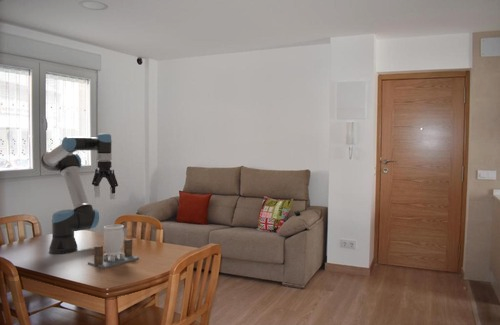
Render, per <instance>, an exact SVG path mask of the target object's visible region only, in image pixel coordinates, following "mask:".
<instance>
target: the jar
mask: <svg viewBox="0 0 500 325" xmlns="http://www.w3.org/2000/svg"><path fill="white" fill-rule="evenodd" d="M124 228H125V226H124V225H123V224H107V225H104V226H103V235H102V236H103V243H104V246H103V247H104V249H105V251H106V252H105V254H106V255H108V257H110V256H116V255H120V254H122V253H123V251H122V249H123V248H124V240H125V231H124Z"/></svg>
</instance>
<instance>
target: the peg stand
mask: <svg viewBox="0 0 500 325" xmlns="http://www.w3.org/2000/svg"><path fill="white" fill-rule="evenodd" d="M139 259H140V256H135V255H132V256H129V257H126V256H125V253H124V252H122V254H120V255H116V256H108V255H106V253H103V264H99V265H98V267H97V268H102V269H104V270H105V269H109V268H112V267H115V266H118V265H123V264H126V263H130V262H132V261H133V262H134V261H136V260H137V261H138V260H139ZM87 265H91V266H94V260H92V261H88V262H87ZM94 267H95V266H94Z"/></svg>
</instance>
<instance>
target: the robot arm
mask: <svg viewBox="0 0 500 325" xmlns="http://www.w3.org/2000/svg"><path fill="white" fill-rule="evenodd" d="M112 142H113V141H112V135H111V134H110V133H98V134H97V136H96V137H93V136H91V137H89V136H87V137H86V136H85V137H83V136H65V137H63V139H62V141H61V144H59V145H58V146H57V147H55V148H53V149H52V150H47V151H46V152H44V153H43V154H42V155H41V157H40V163H41V165H42V167H43V168H44V169H45V170H47V171H51V172H57V171H58V172H60V175H61V176H62V177H64V180H65V184H66V186H67V188H68V193H69V196H70V200H71V203H72V206H73V209H71V208H70V209H63V210H58V211H56V212H54V213H53V214H52V216H51V217H52V218H51V232H52V234H51V235H52V238H51V242H50V245H49V246H48V247H49V248H48V252H49V254H55V255H57V254H58V255H59V254H61V255H62V254H68V253H69V254H70V253H74V252H76V251H78V243H77V241H76V238H75V232H77V231H78V232H79V231H86V230H91V229H95V228H96V227H97V226H98V225H99V221H100V213H99V211H98V209H96V208H93V205H92V204H90V203H89V200H88V198H87V195H86V192H85V188H84V186H83V182H82V180H81V179H82V178H81V176H80V173H79V172H80V170H81V168H82V159H81V157H80V155H79V154H78V153H77V152H76V151H93V152H94V151H97V168H95V169H94V170H95V171H94V175H93V179H92V181H91V185H93V186H94V198H97V199H98V198H100V197H101V195H100V193H101V190H100V188H101V187H100V183H101V182H102V179H103V178H105V179H106V181H107V182H108V184H109V186H110V187H109V200H115V199H116V187H118V186H119V183H118V180H117V177H116V174H115V170H114V169H111V168H112V167H113V166H112V165H113V164H112V160H113V159H112Z"/></svg>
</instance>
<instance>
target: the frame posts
mask: <svg viewBox="0 0 500 325" xmlns="http://www.w3.org/2000/svg"><path fill="white" fill-rule="evenodd" d="M123 248H124V249H123V251H124V252H123V253H125V256H126V257H129V256H133V239H131V238H126V239H125V238H124V242H123ZM93 252H94V253H93V255H94V256H93V258H94V260H93V261H94V267H97V268H99V267H98V265H99V264H103V254H104V246H103V245H99V244H98V245H95V246H94V247H93Z"/></svg>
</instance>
